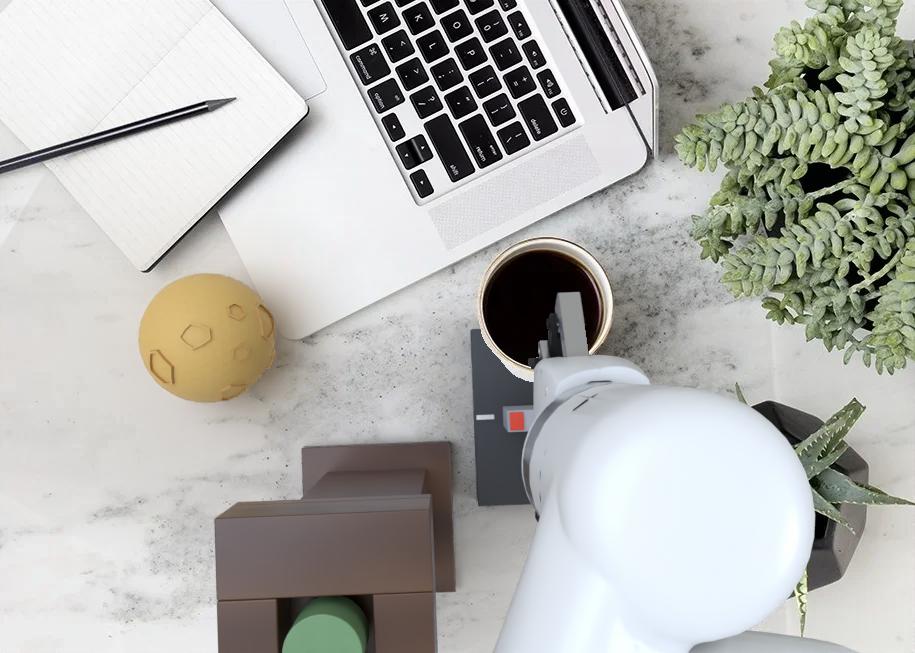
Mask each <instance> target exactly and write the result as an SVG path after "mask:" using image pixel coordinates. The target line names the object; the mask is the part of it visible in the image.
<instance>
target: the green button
mask: <svg viewBox="0 0 915 653" xmlns="http://www.w3.org/2000/svg"><path fill="white" fill-rule="evenodd" d="M368 639H369V625H368V621H367V618H366V616H365V614H364V612H363V611H362V609H361V608H360V607H359V606H358V605H357V604H356V603H355V602H354V601H352V600H350V599H348V598H346V597H343V596H320V597H318V598H316V599H314V600H312V601H311V602H309V603H308V604H307V605H306V606H305V607H304V608H303V609H302V610H301V612H300V614H299V615H298V617H297V619H296V620H295V622H294V624H293V626H292V627H291V629H290V631H289V633H288V634H287V636H286V639H285V641H284V644H283V649H282V653H365V651H366V647H367V643H368Z"/></svg>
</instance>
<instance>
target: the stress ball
mask: <svg viewBox="0 0 915 653" xmlns="http://www.w3.org/2000/svg"><path fill="white" fill-rule="evenodd" d="M139 323H140V324H139V327H138V328H139V329H138V348H139V349H138V350H139V354H140V357H141V360H142V362H143V365H144V367H145V368H146V370H147V372H148V374H149V375H150V377H151V378H152V380H154V381H155V383H157V384H158V385H159V386H160V387H161V388H162V389H164V390H165V391H166V392H168V393H170V394H171V395H173V396H175V397H177V398H180V399H182V400H185V401H189V402H194V403H201V404H210V403H219V402H229V401H230V400H233V399H235V398H238V397H239V396H240V395H242V394H243V393H246V392H247V391H249V389H250V388H251V387H253V386H254V385H255V384H256V383H257V382H258V381H259V380H260V378H261V377H262V376H263V375H264V373H265V372H266V370H267V369H268V370H270V369H271V366H272V365H273V362H274V360H275V356H276V353H277V350H276V349H275V341H276V336H275V331H276V322H275V318H274V316H273V314H272V312H271V311H270V310H269V308H268V307H267V305H266V303H265V302H264V301H263V299H262V298H261V297H260V296H259V295H258V293H256V291H255V290H253V289H252V288H250V287H249V286H248V285H247V284H246V283H244V282H242V281H240V280H238V279H236V278H234V277H231V276H228V275H225V274H219V273H209V272H203V273H193V274H190V275H186V276H185V275H184V276H183V277H180V278H178V279H176V280H174V281H172V282H170V283H168V284H167V285H165V286H164V287H163V288H161V289H160V290H159V291H158V293H156V294H155V295H154V296H153V297H152V299H151V300H150V302H149V303H148V304H147V306H146V308H145V310H144V312H143V314H142V317H141V320H140V322H139Z"/></svg>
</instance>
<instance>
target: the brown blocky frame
mask: <svg viewBox="0 0 915 653" xmlns="http://www.w3.org/2000/svg"><path fill="white" fill-rule="evenodd" d="M213 526H214V556H215V557H214V558H215V560H214V561H215V589H216V590H215V592H216V594H215V595H216V625H217V627H216V628H217V653H282V649H283V644H284V641H285V639H286V636H287V634H288V633H289V631H290V629H291V627H292V626H293V624H294V622H295V620H296V619H297V617H298V615H299V614H300V612H301V610H302V609H303V608H304V607H305V606H306V605H307V604H308V603H309V602H311V601H312V600H314V599H316V598H318V597H320V596H343V597H346V598H348V599H350V600H352V601H354V602H355V603H356V604H357V605H358V606H359V607H360V608H361V609H362V611H363V612H364V614H365V616H366V618H367V621H368V625H369V639H368V643H367V647H366V651H365V653H439V645H438V644H439V643H438V617H437V593H436V589H435V562H434V536H433V509H432V494H418V495H394V496H370V497H346V498H322V499H301V498H300V499H278V500H277V499H276V500H254V501H253V500H251V501H237V502H236V503H234V504H232V506H230V507H229V508H227V509H226V510H224V511H223V512H221V513H220V514H219V515H217V516H216V517H215V518H214V519H213Z"/></svg>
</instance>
